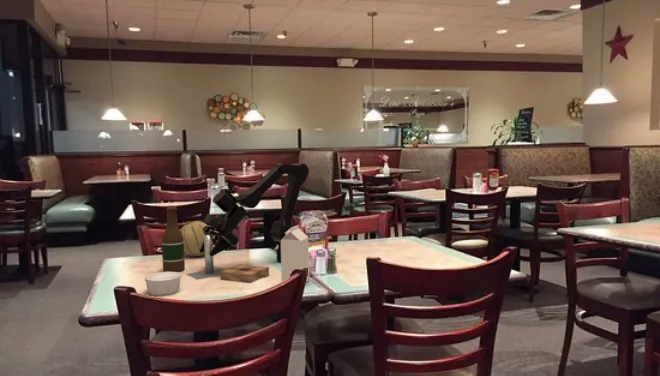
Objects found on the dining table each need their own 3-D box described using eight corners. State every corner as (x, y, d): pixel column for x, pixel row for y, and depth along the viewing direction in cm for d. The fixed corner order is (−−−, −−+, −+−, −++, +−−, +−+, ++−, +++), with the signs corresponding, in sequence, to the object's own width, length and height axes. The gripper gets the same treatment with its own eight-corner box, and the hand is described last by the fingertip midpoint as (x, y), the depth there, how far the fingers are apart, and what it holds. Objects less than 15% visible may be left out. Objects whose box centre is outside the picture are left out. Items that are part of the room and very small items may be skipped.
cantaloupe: (221, 255, 226) (220, 219, 225) (191, 261, 215) (190, 224, 214) (200, 250, 236) (199, 216, 235) (171, 256, 225) (169, 221, 224)
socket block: (240, 272, 195) (240, 264, 195) (269, 275, 190) (268, 267, 190) (220, 280, 185) (220, 271, 184) (250, 283, 179) (250, 275, 179)
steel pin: (214, 272, 195) (213, 234, 194) (213, 274, 192) (211, 235, 191) (206, 272, 195) (204, 234, 194) (204, 274, 192) (203, 235, 191)
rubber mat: (221, 268, 202) (221, 268, 202) (233, 273, 194) (233, 272, 194) (185, 274, 193) (185, 274, 193) (197, 280, 185) (197, 279, 185)
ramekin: (161, 298, 164) (161, 281, 164) (137, 293, 170) (136, 277, 170) (189, 290, 174) (188, 273, 173) (165, 285, 180) (164, 270, 179)
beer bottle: (189, 270, 200) (186, 206, 198) (175, 274, 193) (172, 208, 191) (173, 268, 204) (170, 205, 202) (158, 272, 197) (155, 207, 195)
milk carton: (309, 280, 182) (308, 225, 181) (301, 286, 175) (300, 228, 174) (290, 279, 184) (288, 224, 183) (281, 284, 178) (280, 227, 176)
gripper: (206, 203, 201) (179, 236, 195) (229, 208, 186) (201, 243, 181) (226, 222, 207) (200, 254, 201) (250, 228, 192) (223, 263, 186)
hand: (205, 253), depth 192 cm, fingers open, 8 cm apart
